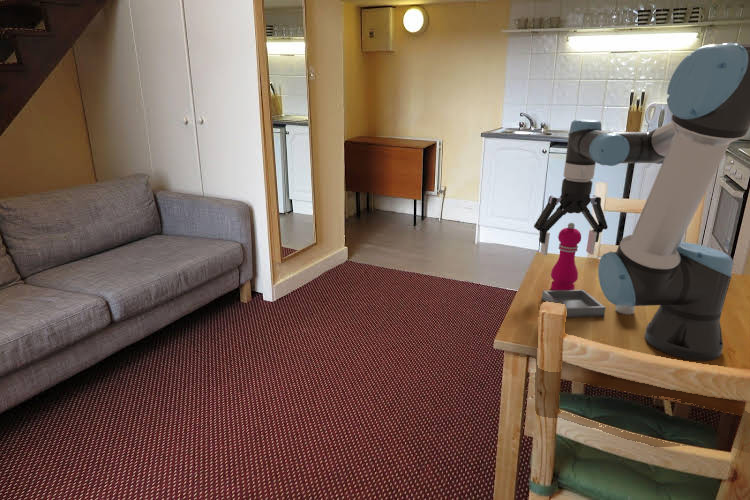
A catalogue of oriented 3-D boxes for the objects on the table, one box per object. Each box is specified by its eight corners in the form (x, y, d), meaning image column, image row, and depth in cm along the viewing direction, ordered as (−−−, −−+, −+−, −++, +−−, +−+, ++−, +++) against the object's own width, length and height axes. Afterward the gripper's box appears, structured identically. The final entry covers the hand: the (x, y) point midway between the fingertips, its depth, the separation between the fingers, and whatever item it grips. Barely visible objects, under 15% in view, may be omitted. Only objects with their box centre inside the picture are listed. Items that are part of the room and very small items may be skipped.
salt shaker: (637, 314, 129) (644, 277, 126) (621, 314, 128) (627, 278, 125) (627, 306, 133) (634, 271, 130) (611, 307, 132) (618, 272, 129)
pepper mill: (571, 296, 139) (581, 227, 133) (545, 290, 143) (554, 223, 137) (578, 288, 145) (588, 222, 138) (553, 282, 149) (562, 218, 142)
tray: (604, 316, 127) (605, 307, 126) (560, 317, 126) (561, 308, 125) (582, 297, 138) (583, 289, 137) (541, 299, 137) (542, 290, 136)
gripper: (614, 176, 138) (601, 248, 145) (527, 176, 136) (519, 249, 143) (629, 181, 131) (615, 256, 138) (538, 182, 129) (529, 258, 136)
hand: (566, 253), depth 141 cm, fingers open, 13 cm apart
